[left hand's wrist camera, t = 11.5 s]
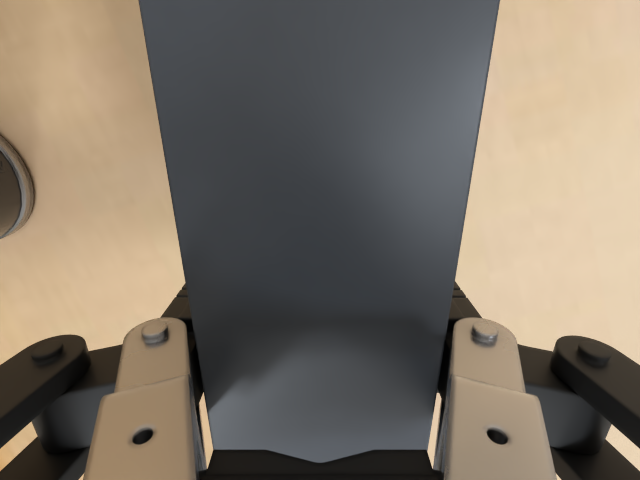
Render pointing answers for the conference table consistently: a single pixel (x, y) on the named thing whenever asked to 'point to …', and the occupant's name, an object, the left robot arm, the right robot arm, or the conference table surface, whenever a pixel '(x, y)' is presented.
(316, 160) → the bar
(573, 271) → the conference table surface
